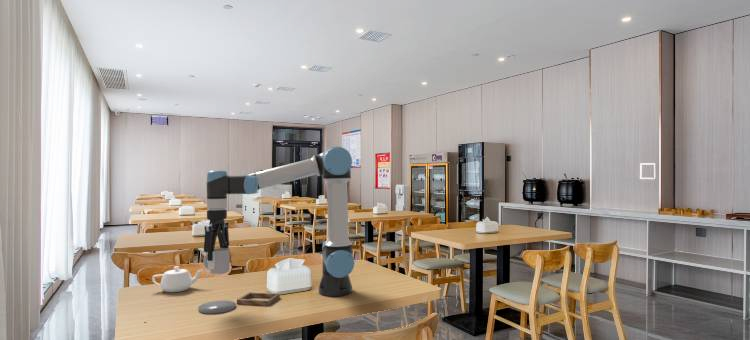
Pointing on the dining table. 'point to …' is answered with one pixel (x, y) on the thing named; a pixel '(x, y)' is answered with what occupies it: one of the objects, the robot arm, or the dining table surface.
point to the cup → (219, 261)
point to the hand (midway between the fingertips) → (217, 266)
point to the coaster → (216, 307)
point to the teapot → (176, 280)
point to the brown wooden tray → (258, 302)
